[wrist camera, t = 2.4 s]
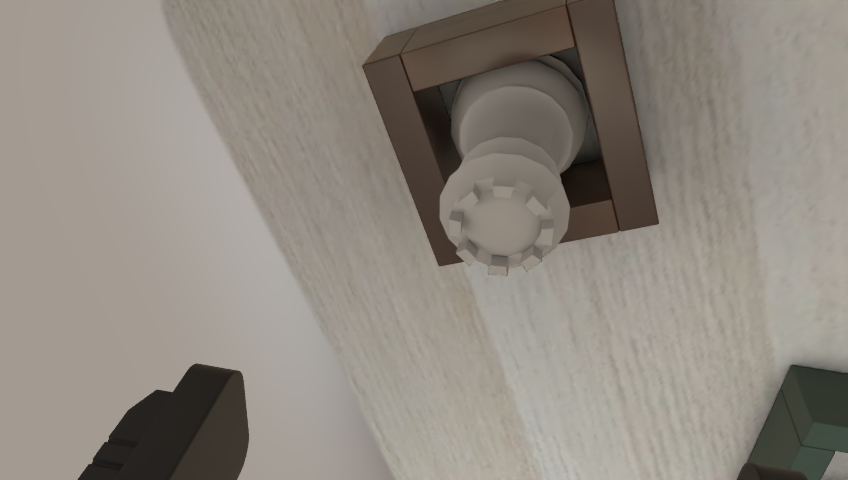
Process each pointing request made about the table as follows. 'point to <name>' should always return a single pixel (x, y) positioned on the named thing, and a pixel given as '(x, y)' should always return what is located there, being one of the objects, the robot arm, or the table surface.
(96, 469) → the robot arm
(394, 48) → the holder
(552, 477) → the table surface
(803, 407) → the rack
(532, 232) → the rook chess piece
